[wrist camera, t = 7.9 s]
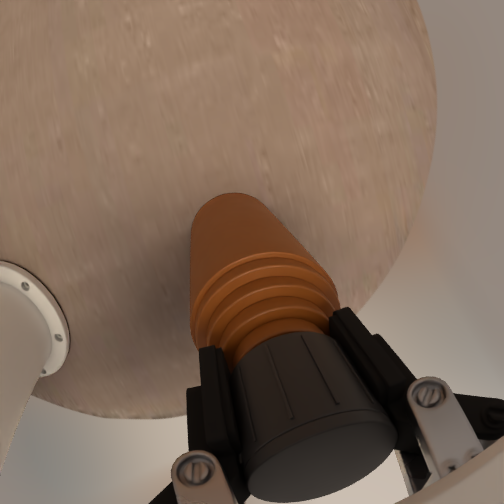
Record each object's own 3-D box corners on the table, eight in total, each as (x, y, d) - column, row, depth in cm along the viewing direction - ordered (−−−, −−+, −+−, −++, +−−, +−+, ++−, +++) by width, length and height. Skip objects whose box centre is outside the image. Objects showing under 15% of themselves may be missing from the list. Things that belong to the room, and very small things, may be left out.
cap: (347, 398, 11) (387, 471, 7) (243, 430, 10) (261, 513, 7) (346, 314, 9) (409, 396, 6) (213, 351, 9) (228, 457, 5)
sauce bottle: (186, 268, 24) (191, 504, 7) (197, 187, 22) (208, 367, 5) (265, 276, 26) (367, 483, 9) (282, 199, 24) (459, 353, 7)
